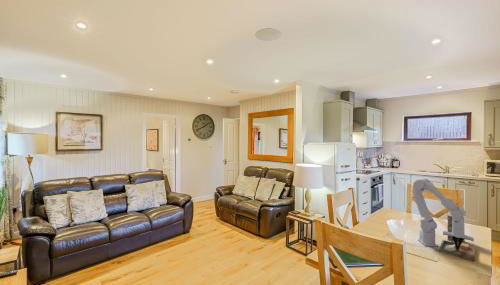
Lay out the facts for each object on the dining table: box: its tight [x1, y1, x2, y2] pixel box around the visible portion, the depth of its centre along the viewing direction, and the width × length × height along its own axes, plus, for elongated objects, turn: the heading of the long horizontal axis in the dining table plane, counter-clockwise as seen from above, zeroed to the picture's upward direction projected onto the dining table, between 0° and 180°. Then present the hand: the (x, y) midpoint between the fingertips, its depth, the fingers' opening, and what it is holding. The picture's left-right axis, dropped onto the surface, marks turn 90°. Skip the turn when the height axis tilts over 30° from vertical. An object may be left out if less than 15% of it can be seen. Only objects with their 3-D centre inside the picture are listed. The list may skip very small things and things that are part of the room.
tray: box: [438, 239, 455, 256], centre depth 156 cm, size 7×18×2 cm, turn 136°
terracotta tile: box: [460, 242, 470, 250], centre depth 154 cm, size 5×5×2 cm
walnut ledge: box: [453, 245, 476, 262], centre depth 150 cm, size 9×20×2 cm, turn 135°
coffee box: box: [447, 215, 466, 243], centre depth 168 cm, size 9×6×16 cm
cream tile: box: [445, 245, 456, 251], centre depth 152 cm, size 5×5×2 cm
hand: (457, 249), depth 150 cm, fingers closed
